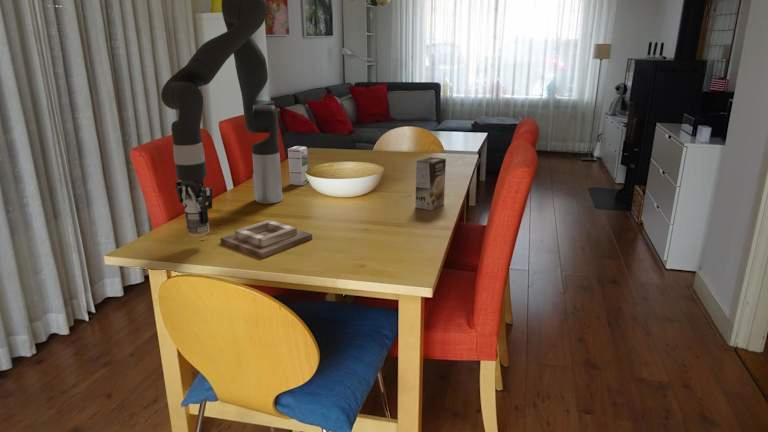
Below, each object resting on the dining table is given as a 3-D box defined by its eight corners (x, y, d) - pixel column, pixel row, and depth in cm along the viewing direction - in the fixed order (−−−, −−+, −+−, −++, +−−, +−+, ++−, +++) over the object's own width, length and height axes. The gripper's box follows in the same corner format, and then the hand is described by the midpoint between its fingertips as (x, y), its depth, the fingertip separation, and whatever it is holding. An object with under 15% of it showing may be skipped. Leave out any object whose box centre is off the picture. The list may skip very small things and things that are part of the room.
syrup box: (303, 185, 206) (301, 149, 202) (289, 184, 208) (287, 148, 204) (309, 182, 212) (307, 146, 207) (296, 181, 213) (294, 145, 209)
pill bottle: (191, 230, 147) (186, 195, 144) (212, 229, 147) (208, 195, 144) (185, 237, 141) (180, 202, 138) (207, 236, 142) (203, 201, 139)
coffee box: (431, 211, 175) (432, 163, 170) (414, 207, 178) (415, 161, 173) (444, 204, 182) (446, 158, 177) (428, 201, 186) (429, 156, 180)
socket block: (220, 243, 148) (219, 231, 147) (270, 226, 161) (270, 215, 160) (262, 258, 137) (261, 245, 136) (312, 238, 150) (311, 227, 149)
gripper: (218, 161, 136) (225, 223, 142) (187, 154, 145) (194, 212, 150) (192, 167, 131) (200, 230, 136) (161, 159, 139) (170, 219, 145)
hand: (197, 220), depth 143 cm, fingers closed on pill bottle, 5 cm apart
